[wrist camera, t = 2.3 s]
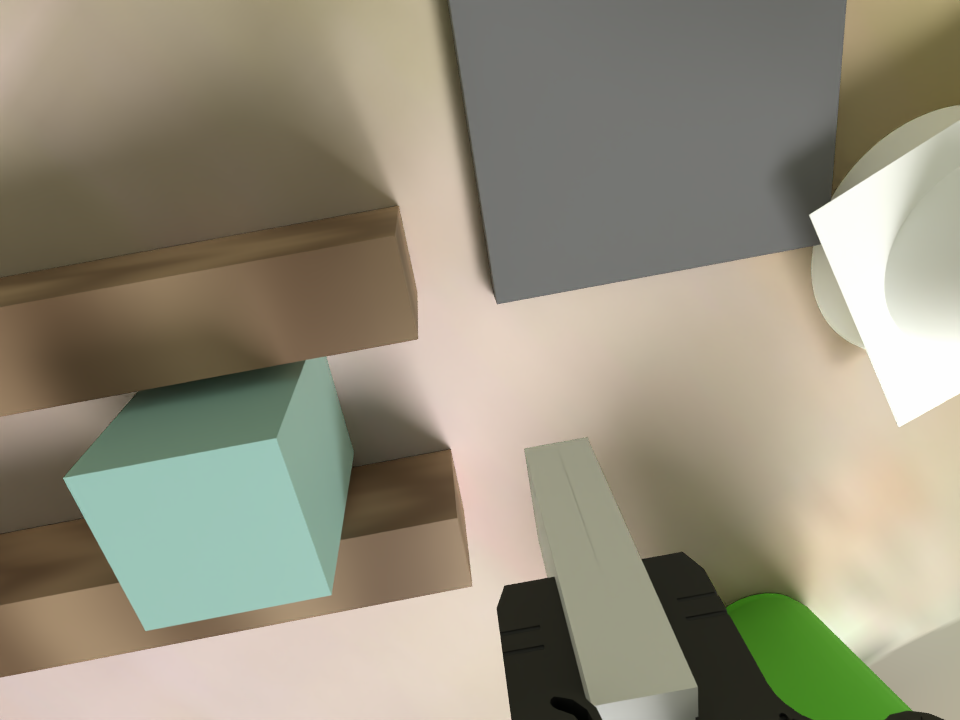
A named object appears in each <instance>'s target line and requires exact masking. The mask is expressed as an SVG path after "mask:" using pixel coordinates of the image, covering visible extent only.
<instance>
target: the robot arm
mask: <svg viewBox="0 0 960 720" xmlns="http://www.w3.org/2000/svg"><path fill="white" fill-rule="evenodd" d="M524 450H525V456H526V463H527V469H528V476H529V482H530V489H531V495H532V502H533V508H534V515H535V521H536V528H537V534H538V540H539V544H540V548H541V552H542V557H543V561H544V565H545V569H546V573H547V577H548V578H545V579H539V580H534V581H528V582H523V583H517V584H512V585H506V586H504V589H503V592H502V594H501V597H500V600H499V603H498V606H497V614H498V622H499V629H500V636H501V644H502V652H503V659H504V667H505V674H506V682H507V689H508V697H509V704H510V712H511V719H512V720H813V719H810V718H808V717H806V716H804V715H801V714H800V713H798V712H797V711H795V710H794V709H793V708H791V707H790V706H788V705H787V704H785V703H784V702H783V701H782V700H781V699H780V698H779V697H778V696H777V695H776V694H775V693H774V691H773V690H772V688H771V687H770V686H769V684H768V683H767V681H766V679H765V677H764V676H763V674H762V672H761V670H760V669H759V667H758V665H757V663H756V661H755V660H754V658H753V656H752V654H751V652H750V651H749V649H748V647H747V645H746V644H745V642H744V640H743V638H742V636H741V635H740V633H739V631H738V629H737V627H736V626H735V624H734V622H733V620H732V618H731V617H730V615H728V613H727V610H726V608H725V606H724V604H723V602H722V601H721V599H720V597H719V596H717V593H716V590H715V588H714V586H713V585H712V583H711V581H710V579H709V577H708V576H707V574H706V572H705V570H704V569H703V568H702V567H701V566H699V565H698V564H697V563H696V562H694V561H693V560H692V559H691V558H690V557H688V556H687V555H686V554H685V553H683V552H679V553H674V554H668V555H662V556H657V557H651V558H646V559H641V557H640V555H639V553H638V551H637V548H636V546H635V544H634V542H633V539H632V537H631V535H630V533H629V530H628V528H627V526H626V524H625V521H624V519H623V517H622V515H621V512H620V510H619V508H618V506H617V503H616V501H615V499H614V497H613V494H612V492H611V490H610V487H609V485H608V483H607V481H606V478H605V476H604V474H603V472H602V469H601V467H600V465H599V463H598V460H597V458H596V456H595V454H594V451H593V449H592V447H591V445H590V442H589V440H588V438H587V437H586V438H581V439H575V440H570V441H564V442H559V443H553V444H547V445H542V446H536V447H531V448H525V449H524ZM885 720H944V719H941V718H939V717H937V716H934V715H932V714H929V713H922V712H914V711H903V712H899V713H895V714H890V715H889V716H888V717H887V718H886V719H885Z"/></svg>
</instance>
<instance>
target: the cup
mask: <svg viewBox="0 0 960 720" xmlns="http://www.w3.org/2000/svg"><path fill="white" fill-rule="evenodd" d="M726 610H727V613H728V615H730V617H731V618H732V620H733V622H734V624H735V626H736V627H737V629H738V631H739V633H740V635H741V636H742V638H743V640H744V642H745V644H746V645H747V647H748V649H749V651H750V652H751V654H752V656H753V658H754V660H755V661H756V663H757V665H758V667H759V669H760V670H761V672H762V674H763V676H764V677H765V679H766V681H767V683H768V684H769V686H770V687H771V688H772V690H773V691H774V693H775V694H776V695H777V696H778V697H779V698H780V699H781V700H782V701H783V702H784V703H785V704H787V705H788V706H790V707H791V708H793V709H794V710H795V711H797V712H798V713H800V714H801V715H804V716H806V717H808V718H810V719H813V720H885V719H886V718H887V717H888V716H889V715H890V714H895V713H899V712H903V711H912V710H911V709H910V708H909V707H908V706H907V705H906V704H905V703H904V702H903V701H902V700H901V699H900V698H899V697H898V696H897V695H896V694H895V693H894V692H893V691H892V690H891V689H890V688H889V687H888V686H887V685H886V684H885V683H884V682H883V681H882V680H880V678H879V677H878V676H877V675H876V674H874V672H873V671H871V669H870V668H868V667H867V666H866V665H865V664H864V663H863V662H862V661H861V660H860V659H859V658H858V657H857V656H856V655H855V654H854V653H853V652H852V651H851V650H850V649H849V648H848V647H847V646H846V645H845V644H844V643H843V642H842V641H841V640H840V639H839V638H838V637H837V636H836V635H835V634H834V633H833V632H832V631H831V630H830V629H829V628H828V627H827V626H826V625H825V624H824V623H823V622H822V621H821V620H820V619H819V618H818V617H817V616H816V615H815V614H814V613H813V612H812V611H811V610H810V609H809V608H808V607H807V606H805V605H803V604H801V603H800V602H798V601H796V600H794V599H792V598H790V597H788V596H785V595H781V594H776V593H763V594H757V595H752V596H749V597H746V598H743V599H740V600H738V601H736V602H735V603H733V604H731V605H729V606H728V607H726Z"/></svg>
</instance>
